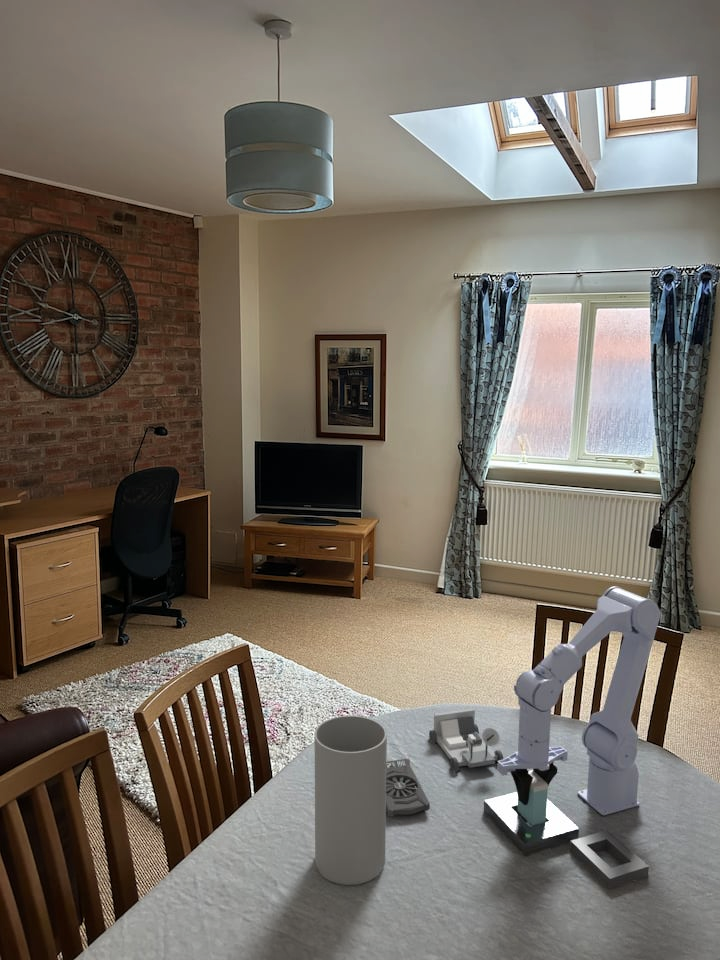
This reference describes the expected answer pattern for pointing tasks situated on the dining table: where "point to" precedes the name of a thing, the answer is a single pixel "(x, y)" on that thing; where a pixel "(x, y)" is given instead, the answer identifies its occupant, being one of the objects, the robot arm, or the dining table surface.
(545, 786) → the plug
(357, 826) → the cylinder vase
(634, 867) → the holster
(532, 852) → the port panel
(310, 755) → the dining table surface
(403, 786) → the graphics card
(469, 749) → the toy car
